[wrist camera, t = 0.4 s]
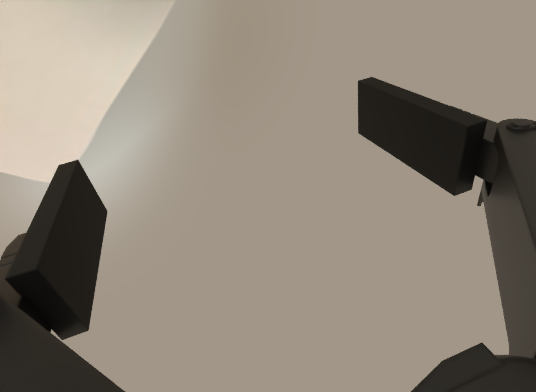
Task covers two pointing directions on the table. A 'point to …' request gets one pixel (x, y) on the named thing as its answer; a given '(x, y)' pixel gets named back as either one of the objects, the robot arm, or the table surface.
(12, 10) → the table surface
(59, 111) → the table surface
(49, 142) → the table surface
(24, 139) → the table surface
